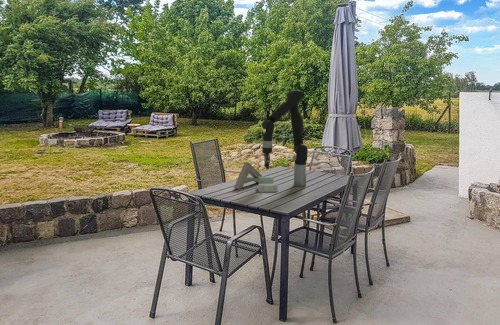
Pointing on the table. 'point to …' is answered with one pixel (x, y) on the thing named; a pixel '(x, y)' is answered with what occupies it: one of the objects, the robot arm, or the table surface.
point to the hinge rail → (268, 187)
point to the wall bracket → (244, 173)
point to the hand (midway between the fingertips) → (266, 167)
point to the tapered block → (266, 180)
